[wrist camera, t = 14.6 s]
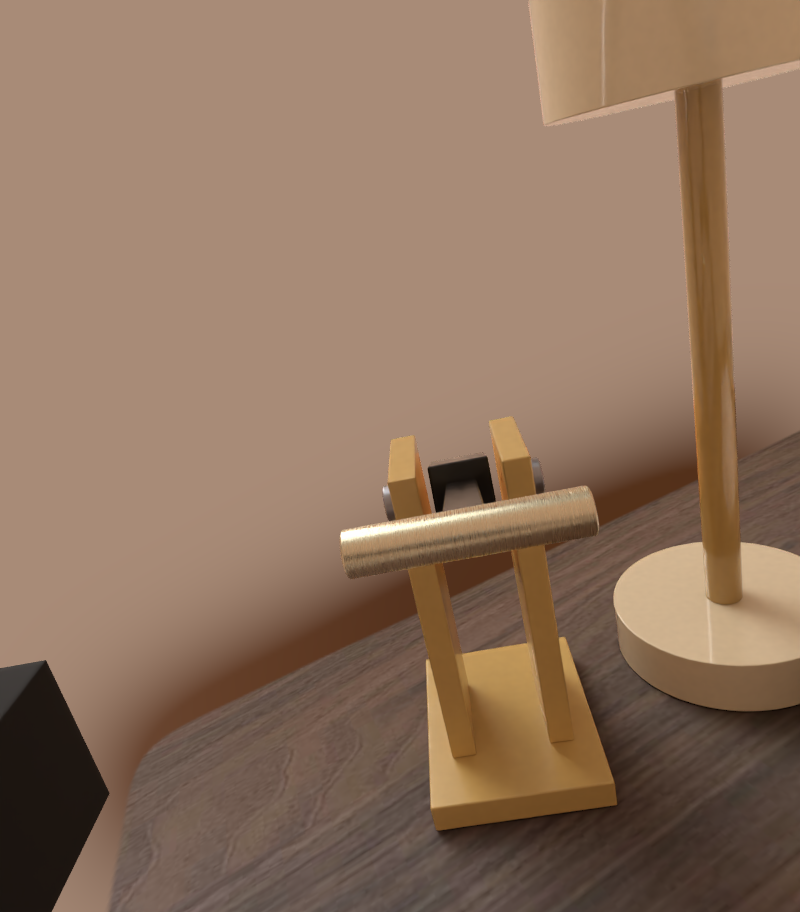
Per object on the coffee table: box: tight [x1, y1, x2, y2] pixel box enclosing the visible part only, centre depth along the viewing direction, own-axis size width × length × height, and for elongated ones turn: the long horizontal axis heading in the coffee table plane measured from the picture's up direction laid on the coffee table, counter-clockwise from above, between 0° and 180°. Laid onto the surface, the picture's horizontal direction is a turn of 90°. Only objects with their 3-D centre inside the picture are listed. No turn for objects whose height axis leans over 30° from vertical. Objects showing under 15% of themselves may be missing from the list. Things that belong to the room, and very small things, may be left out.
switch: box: [340, 452, 599, 579], centre depth 22 cm, size 12×6×2 cm, turn 179°
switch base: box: [383, 416, 617, 831], centre depth 28 cm, size 9×7×14 cm
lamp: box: [528, 0, 800, 711], centre depth 28 cm, size 11×11×32 cm
